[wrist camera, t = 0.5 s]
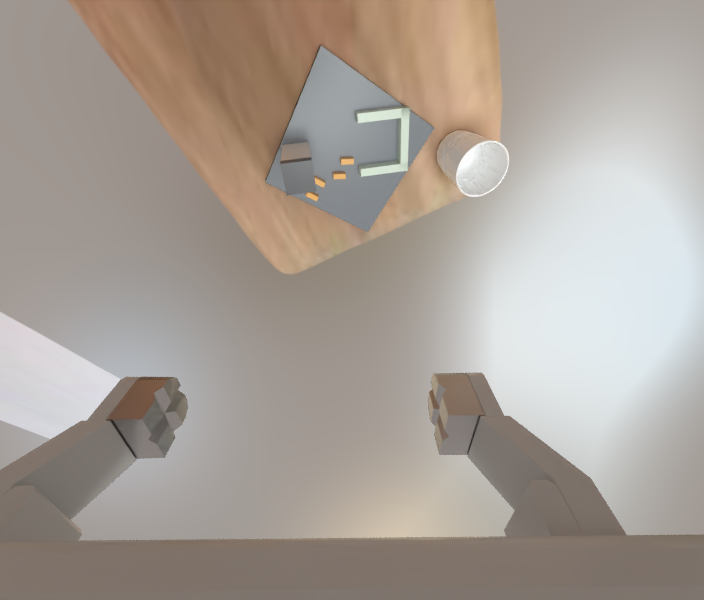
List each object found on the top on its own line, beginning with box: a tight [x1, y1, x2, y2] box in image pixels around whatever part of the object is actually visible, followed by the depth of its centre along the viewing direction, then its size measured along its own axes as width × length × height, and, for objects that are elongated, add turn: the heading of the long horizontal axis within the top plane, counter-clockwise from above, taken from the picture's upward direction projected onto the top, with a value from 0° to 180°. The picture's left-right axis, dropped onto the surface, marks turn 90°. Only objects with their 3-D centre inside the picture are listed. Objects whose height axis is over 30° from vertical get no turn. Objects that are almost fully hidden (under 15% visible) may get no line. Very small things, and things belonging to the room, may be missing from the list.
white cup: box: [437, 130, 509, 197], centre depth 49 cm, size 8×8×10 cm
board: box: [266, 46, 434, 232], centre depth 50 cm, size 20×20×2 cm
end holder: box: [355, 105, 410, 177], centre depth 49 cm, size 8×9×2 cm
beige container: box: [280, 142, 317, 195], centre depth 45 cm, size 4×4×10 cm
